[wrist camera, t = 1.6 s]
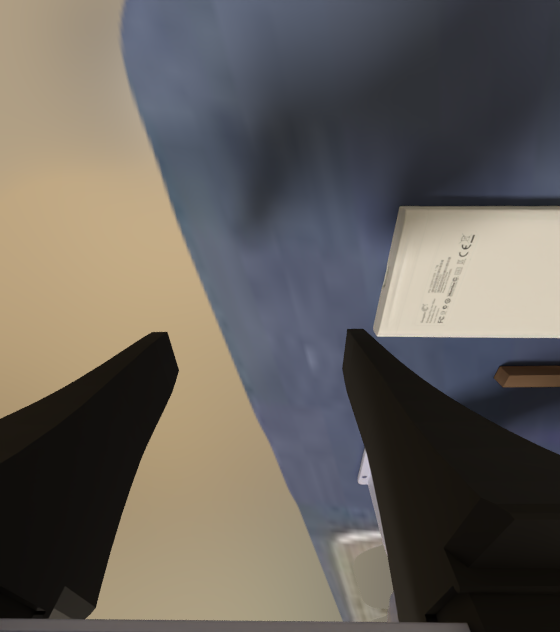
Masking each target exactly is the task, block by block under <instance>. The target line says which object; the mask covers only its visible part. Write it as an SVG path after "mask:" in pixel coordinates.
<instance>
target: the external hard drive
mask: <svg viewBox="0 0 560 632" xmlns="http://www.w3.org/2000/svg"><path fill="white" fill-rule="evenodd" d="M373 330H374V332H375V334H376V336H401V337H494V338H560V206H400V207H399V212H398V216H397V221H396V226H395V230H394V235H393V240H392V244H391V249H390V253H389V258H388V263H387V271H386V274H385V279H384V283H383V286H382V290H381V294H380V299H379V303H378V308H377V313H376V317H375V322H374V326H373Z"/></svg>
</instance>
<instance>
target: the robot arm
mask: <svg viewBox="0 0 560 632" xmlns="http://www.w3.org/2000/svg"><path fill="white" fill-rule="evenodd" d="M342 369H343V374H344V380H345V385H346V390H347V394H348V397H349V400H350V403H351V406H352V409H353V412H354V415H355V418H356V421H357V424H358V428H359V431H360V434H361V437H362V440H363V443H364V446H365V449H364V453H363V458H362V462H361V466H360V470H359V475H358V483H359V484H368V487H369V491H370V494H371V498H372V502H373V506H374V510H375V514H376V518H377V521H378V525H379V529H380V533H381V537H382V541H383V545H384V548H385V551H386V554H387V556H388V560H389V567H390V573H391V578H392V584H393V590H394V591H393V592H392V594H391V597H390V604H389V608H388V615H387V622H314V621H311V622H310V621H208V620H206V621H205V620H105V619H86V618H87V617H88V616H89V615H90V614H91V613H92V612H93V610H94V609H95V608H96V604H97V600H98V597H99V593H100V589H101V584H102V581H103V578H104V574H105V570H106V567H107V563H108V559H109V555H110V552H111V548H112V545H113V542H114V539H115V535H116V532H117V529H118V525H119V522H120V519H121V515H122V512H123V509H124V506H125V503H126V500H127V497H128V494H129V491H130V488H131V486H132V483H133V480H134V477H135V474H136V472H137V469H138V466H139V463H140V460H141V458H142V455H143V453H144V451H145V449H146V446H147V444H148V442H149V440H150V438H151V436H152V434H153V432H154V429H155V427H156V425H157V423H158V421H159V419H160V417H161V415H162V413H163V411H164V409H165V406H166V404H167V402H168V400H169V398H170V396H171V394H172V391H173V388H174V385H175V382H176V379H177V375H178V371H179V369H178V366H177V363H176V359H175V356H174V353H173V350H172V346H171V343H170V339H169V336H168V333H167V332H152V333H150V334H148V335H147V336H145V337H143V338H142V339H140V340H139V341H137V342H135V343H134V344H133V345H131V346H129V347H128V348H126V349H125V350H123V351H122V352H120V353H119V354H117V355H116V356H114V357H113V358H111V359H110V360H108V361H106V362H105V363H103V364H102V365H101V366H99V367H97V368H95V369H94V370H92V371H90V372H89V373H87V374H86V375H84V376H82V377H81V378H79V379H77V380H76V381H74V382H72V383H71V384H69V385H67V386H65V387H63V388H62V389H60V390H58V391H56V392H54V393H53V394H50V395H49V396H47V397H45V398H43V399H41V400H39V401H37V402H35V403H33V404H31V405H29V406H27V407H25V408H22V409H20V410H19V411H16V412H14V413H12V414H10V415H7V416H5V417H3V418H1V419H0V632H560V455H559V454H556V453H554V452H552V451H550V450H547V449H545V448H543V447H541V446H539V445H537V444H535V443H532V442H530V441H528V440H526V439H524V438H522V437H520V436H518V435H516V434H514V433H512V432H510V431H508V430H506V429H504V428H502V427H501V426H499V425H497V424H495V423H493V422H491V421H489V420H487V419H486V418H484V417H482V416H480V415H479V414H477V413H475V412H473V411H472V410H470V409H468V408H466V407H465V406H463V405H461V404H460V403H458V402H456V401H455V400H453V399H452V398H450V397H448V396H447V395H445V394H444V393H442V392H441V391H439V390H438V389H436V388H435V387H433V386H432V385H430V384H429V383H428V382H426V381H425V380H423V379H422V378H421V377H419V376H418V375H417V374H415V373H414V372H413V371H411V370H410V369H409V368H408V367H406V366H405V365H404V364H403V363H401V362H400V361H399V360H398V359H397V358H395V357H394V356H393V355H392V354H391V353H390V352H388V351H387V350H386V349H385V348H384V347H383V346H382V345H381V344H379V343H378V342H377V341H376V340H375V339H374V338H373V337H372V336H371V335H370V334H368V333H367V332H366V331H365V330H364V329H347V336H346V344H345V352H344V360H343V367H342Z"/></svg>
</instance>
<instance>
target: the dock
mask: <svg viewBox="0 0 560 632" xmlns="http://www.w3.org/2000/svg"><path fill="white" fill-rule="evenodd" d="M494 379H495V380H496V381H497V382H498V383H499V384H500V385H501V386H502V387H560V366H500V367H499V369H498V371H497V373H496V375H495V376H494Z"/></svg>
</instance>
